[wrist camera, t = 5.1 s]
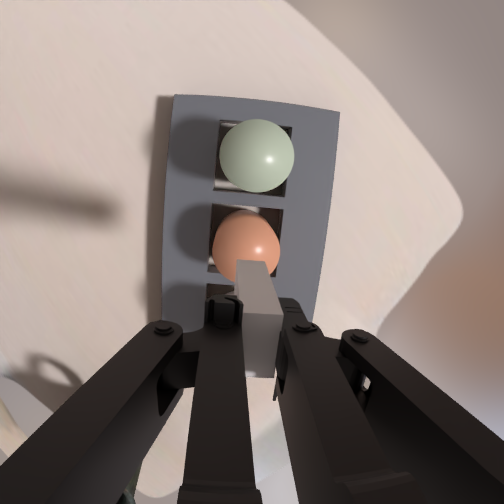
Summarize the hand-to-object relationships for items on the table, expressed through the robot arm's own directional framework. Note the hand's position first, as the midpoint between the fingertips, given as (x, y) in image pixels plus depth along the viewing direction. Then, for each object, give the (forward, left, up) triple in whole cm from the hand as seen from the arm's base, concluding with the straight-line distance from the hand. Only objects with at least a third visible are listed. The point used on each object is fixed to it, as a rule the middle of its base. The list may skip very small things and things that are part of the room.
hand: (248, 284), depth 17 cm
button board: (0, 0, -12) cm, 12 cm away
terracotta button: (0, 0, -12) cm, 12 cm away
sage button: (0, +7, -10) cm, 13 cm away
